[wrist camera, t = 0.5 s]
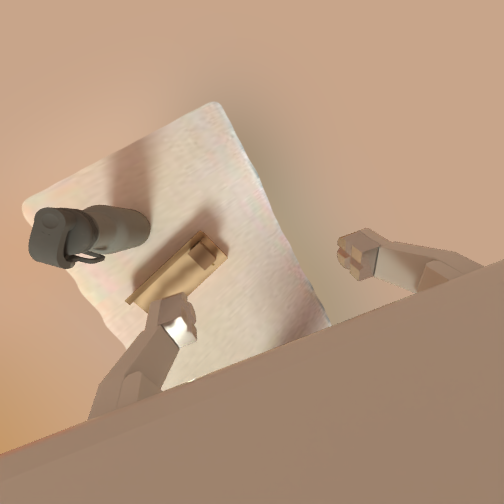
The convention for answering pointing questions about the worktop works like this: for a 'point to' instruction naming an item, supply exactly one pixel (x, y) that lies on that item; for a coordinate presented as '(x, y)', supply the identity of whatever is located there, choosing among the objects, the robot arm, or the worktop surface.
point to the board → (177, 274)
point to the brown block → (202, 256)
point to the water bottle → (85, 234)
